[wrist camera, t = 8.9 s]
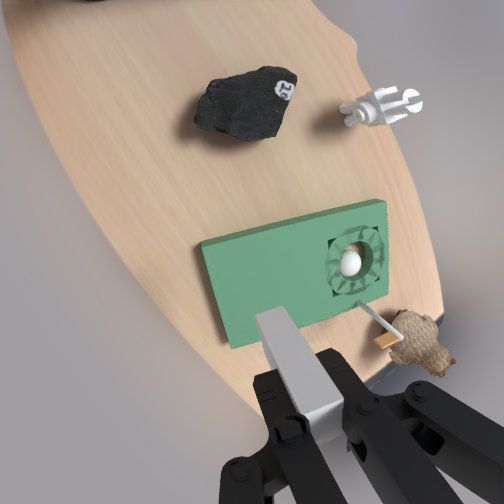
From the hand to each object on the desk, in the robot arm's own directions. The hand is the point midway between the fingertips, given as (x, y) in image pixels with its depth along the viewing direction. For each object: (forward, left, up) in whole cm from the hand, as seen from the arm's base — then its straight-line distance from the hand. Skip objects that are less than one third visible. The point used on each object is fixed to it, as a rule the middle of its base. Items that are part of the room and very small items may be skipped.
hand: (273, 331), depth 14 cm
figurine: (+22, +24, -20) cm, 38 cm away
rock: (-14, +5, -20) cm, 25 cm away
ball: (+7, +15, -18) cm, 24 cm away
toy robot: (-12, +19, -20) cm, 30 cm away
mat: (+7, +9, -20) cm, 23 cm away
